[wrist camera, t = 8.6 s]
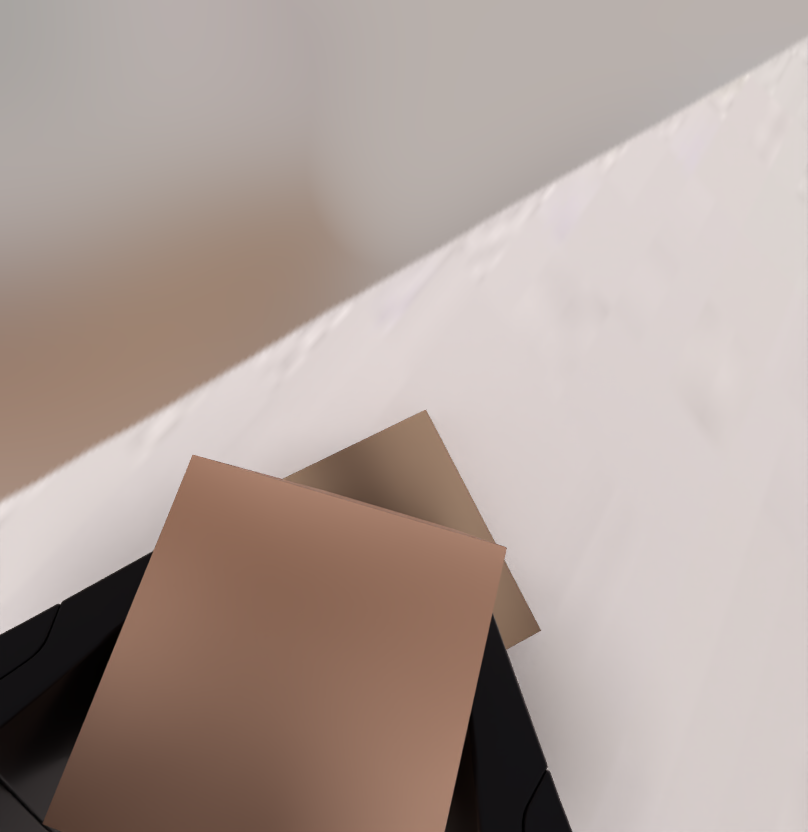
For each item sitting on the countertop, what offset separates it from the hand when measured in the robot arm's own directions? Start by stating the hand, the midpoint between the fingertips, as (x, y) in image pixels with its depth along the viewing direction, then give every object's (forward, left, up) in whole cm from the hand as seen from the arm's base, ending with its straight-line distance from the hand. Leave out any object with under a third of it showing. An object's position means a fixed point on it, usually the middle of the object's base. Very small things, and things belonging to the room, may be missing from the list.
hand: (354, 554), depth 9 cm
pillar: (-1, -1, -7) cm, 7 cm away
